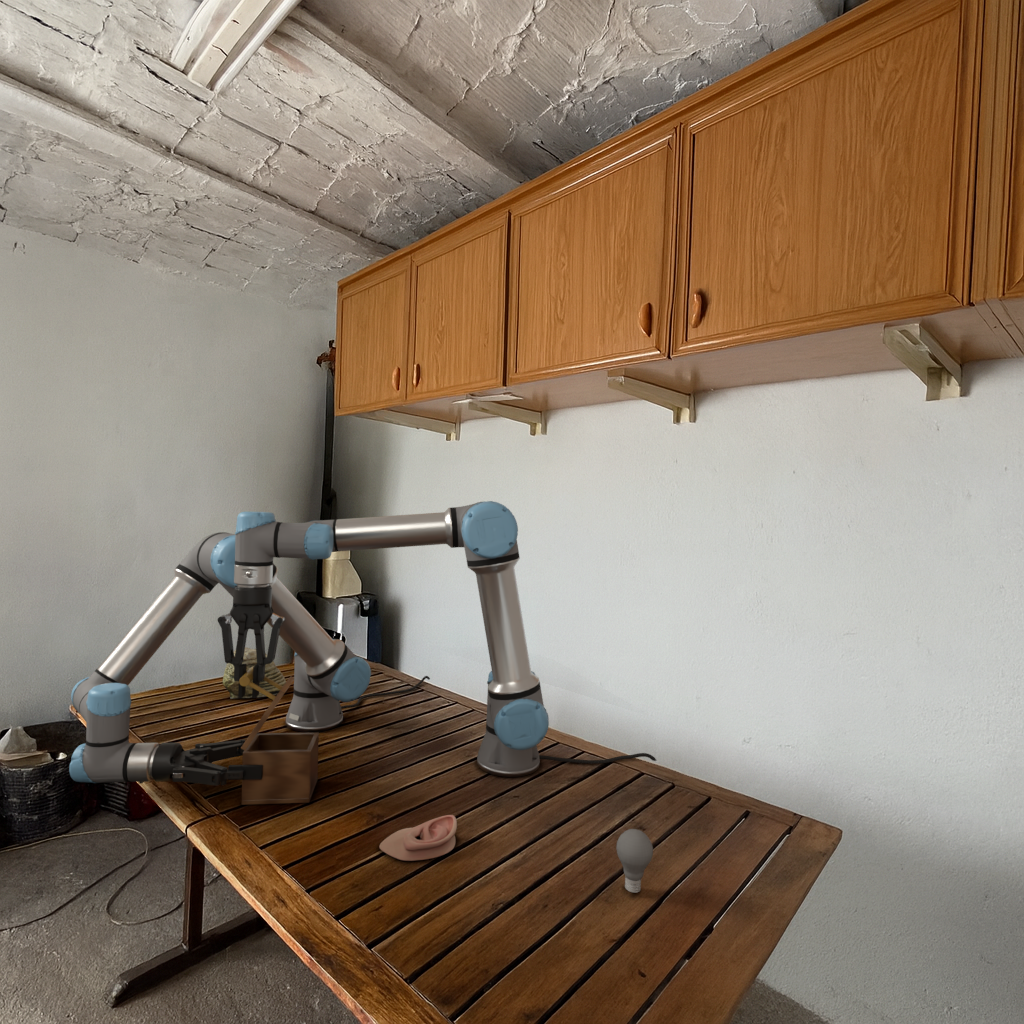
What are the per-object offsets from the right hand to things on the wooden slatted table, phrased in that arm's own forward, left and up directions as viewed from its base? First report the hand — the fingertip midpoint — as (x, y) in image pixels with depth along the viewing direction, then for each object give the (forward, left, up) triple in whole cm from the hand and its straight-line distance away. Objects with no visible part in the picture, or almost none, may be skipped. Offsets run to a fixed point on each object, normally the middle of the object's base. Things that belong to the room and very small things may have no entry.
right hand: (248, 695), depth 134 cm
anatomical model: (-30, +31, -21) cm, 48 cm away
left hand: (-4, +1, -14) cm, 15 cm away
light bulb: (-60, +55, -21) cm, 84 cm away
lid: (-5, +1, -4) cm, 6 cm away
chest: (-7, +2, -21) cm, 22 cm away
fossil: (-2, -68, -21) cm, 72 cm away
